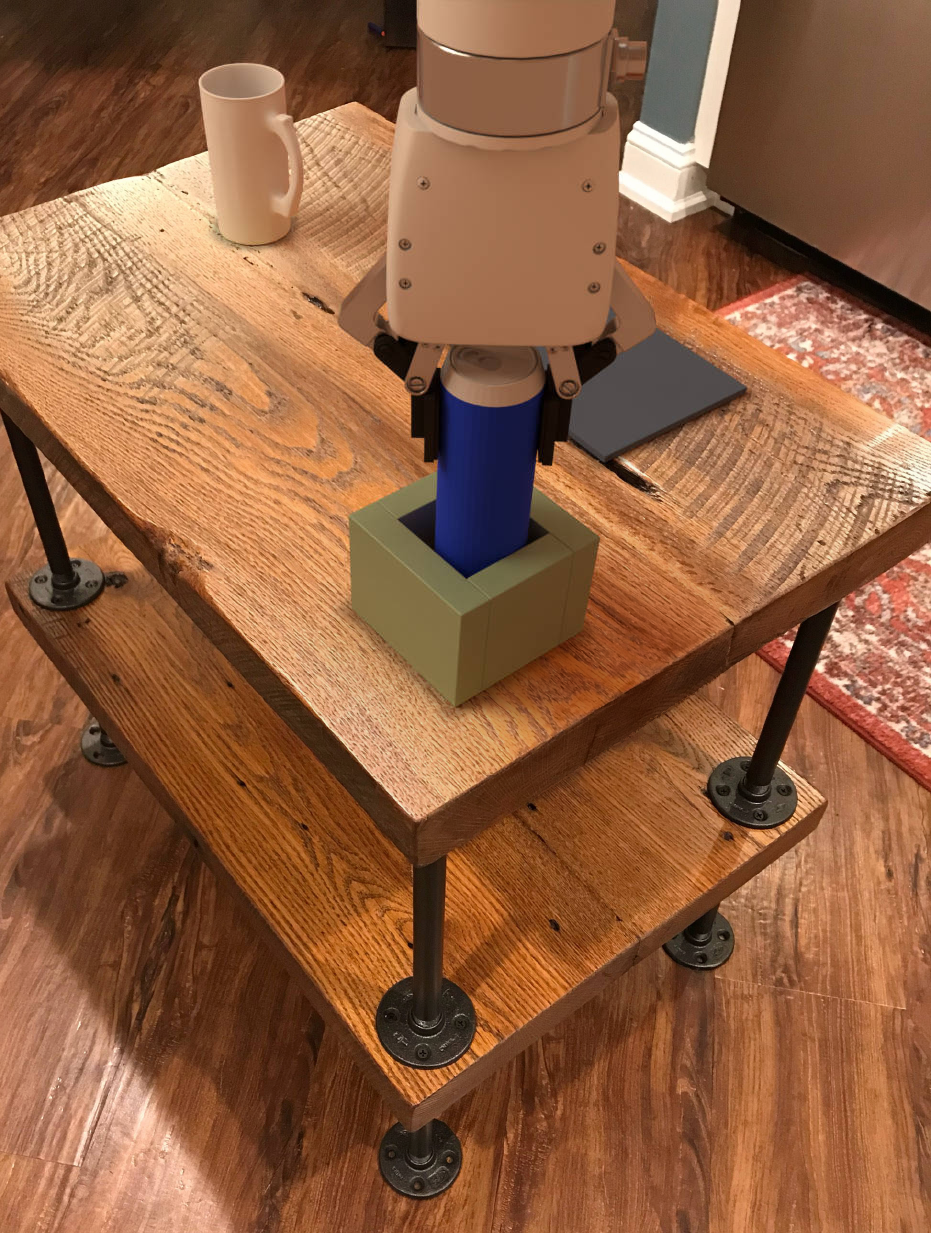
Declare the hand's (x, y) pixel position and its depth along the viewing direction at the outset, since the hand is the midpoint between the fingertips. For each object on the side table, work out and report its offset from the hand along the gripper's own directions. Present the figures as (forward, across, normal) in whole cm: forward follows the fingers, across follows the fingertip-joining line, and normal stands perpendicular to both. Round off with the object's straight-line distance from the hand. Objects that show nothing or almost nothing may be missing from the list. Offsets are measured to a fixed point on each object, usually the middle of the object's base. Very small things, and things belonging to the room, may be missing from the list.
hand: (488, 444), depth 59 cm
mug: (+13, +19, -45) cm, 51 cm away
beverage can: (+10, 0, 0) cm, 10 cm away
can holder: (+13, +1, 0) cm, 13 cm away
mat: (+13, -8, -27) cm, 31 cm away
